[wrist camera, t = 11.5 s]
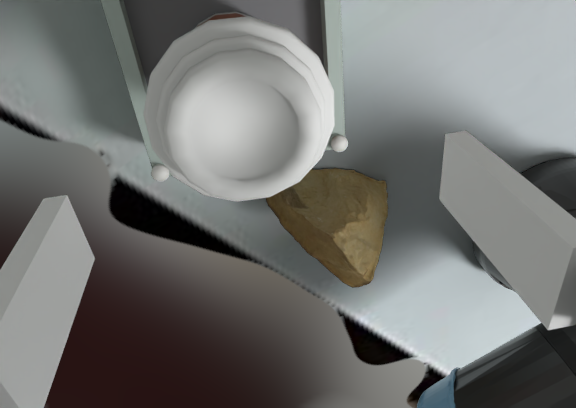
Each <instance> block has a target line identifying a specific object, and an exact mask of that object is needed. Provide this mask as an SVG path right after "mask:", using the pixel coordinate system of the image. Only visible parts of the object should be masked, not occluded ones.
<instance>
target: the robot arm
mask: <svg viewBox="0 0 576 408" xmlns="http://www.w3.org/2000/svg"><path fill="white" fill-rule="evenodd" d="M439 200H440V201H441V202H442V204H443V205H444V206H445V207H446V208H447V210H448V211H449V212H450V213H451V214H452V216H453V217H454V218H455V219H456V220H457V222H458V223H459V224H460V225H461V226H462V228H463V229H464V230H465V231H466V232H467V234H468V235H469V236H470V237H471V238H472V240H473V249H474V253H475V256H476V258H477V260H478V262H479V263H480V265H481V266H482V267H483V268H484V270H485V271H486V272H487V273H488V275H489V276H490V277H491V278H492V279H493V280H495V281H496V282H497V283H499V284H500V285H502V286H504V287H506V288H508V289H511V290H513V291H515V292H516V293H517V294H518V295H519V296H520V297H521V299H522V300H523V301H524V302H525V303H526V305H527V306H528V307H529V308H530V309H531V311H532V312H533V313H534V314H535V315H536V317H537V318H538V319H539V320H540V321H541V324H539V325H537V326H535V327H533V328H531V329H529V330H528V331H526V332H524V333H522V334H521V335H519V336H517V337H516V338H514V339H512V340H510V341H509V342H507V343H505V344H503V345H502V346H500V347H498V348H497V349H495V350H493V351H491V352H490V353H488V354H486V355H484V356H483V357H481V358H479V359H477V360H475V361H474V362H472V363H470V364H468V365H466V366H465V367H463V368H461V369H460V368H455V369H453V370H452V371H451V373H450V375H448V376H447V377H445V378H444V379H442V380H441V381H439V382H437V383H436V384H434V385H433V386H431V387H430V388H428V389H427V390H426V391H425V392H424V393H423V394H422V395H421V397H420V399H419V402H418V405H417V408H576V158H563V159H557V160H552V161H549V162H545V163H542V164H540V165H537V166H535V167H533V168H531V169H529V170H527V171H525V172H523V173H522V174H519V173H518V172H517V171H516V170H514V169H513V168H512V167H511V166H510V165H508V164H507V163H506V162H505V161H503V160H502V159H501V158H500V157H498V156H497V155H496V154H495V153H493V152H492V151H491V150H490V149H488V148H487V147H486V146H485V145H483V144H482V143H481V142H480V141H479V140H477V139H476V138H475V137H474V136H472V135H471V134H470V133H469V132H467V131H460V132H454V133H447V134H445V143H444V153H443V164H442V175H441V185H440V196H439ZM94 260H95V258H94V255H93V253H92V251H91V248H90V246H89V244H88V242H87V239H86V237H85V235H84V232H83V230H82V228H81V226H80V223H79V221H78V219H77V216H76V214H75V212H74V210H73V207H72V205H71V203H70V200H69V198H68V196H67V195H63V196H57V197H50V198H44V199H43V200H42V202H41V204H40V205H39V207H38V209H37V210H36V212H35V214H34V215H33V217H32V219H31V220H30V222H29V224H28V225H27V227H26V228H25V230H24V232H23V233H22V235H21V237H20V238H19V240H18V242H17V243H16V245H15V247H14V248H13V250H12V252H11V253H10V255H9V256H8V258H7V260H6V262H5V263H4V265H3V267H2V268H1V270H0V408H43V407H44V404H45V402H46V399H47V396H48V393H49V390H50V387H51V384H52V381H53V378H54V376H55V373H56V369H57V367H58V364H59V361H60V358H61V355H62V352H63V349H64V346H65V344H66V341H67V338H68V335H69V332H70V329H71V326H72V323H73V320H74V317H75V315H76V312H77V309H78V306H79V303H80V300H81V297H82V294H83V291H84V289H85V286H86V283H87V280H88V277H89V274H90V271H91V268H92V266H93V263H94Z"/></svg>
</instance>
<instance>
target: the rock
mask: <svg viewBox="0 0 576 408" xmlns="http://www.w3.org/2000/svg"><path fill="white" fill-rule="evenodd" d="M386 188H387V185H386V182H385V181H383V180H382V181H377V180H375V179H372V178H370V177H366V176H365V175H363V174H361V173H358V172H355V170H342V169H337V168H334V169H322V170H313V169H311V170H310V171H309V172H308V173H307V174H306V175H305V176H304V177H303V179H302V180H301V181H300V182H298V183H296V184H294V185H292V186H291V187H289V188H287V189H285V190H283V191H281V192H279V193H277V194H275V195H273V196H271V197H267V198H266V202H267V204H268V206H269V207H270V208H271V209H272V210H273V212H274V213H275V215H276V216H277V217H278V219H279V221H280V223H281V225H282V226H283V227H284V228H285V229H286V230H287V231H288V232H289V233H290V234H291V235H292V236H293V237H294V239H295V240H296V241H297V242H298V243H299V244H300V245H301V246H302V247H303V248H304V250H305V251H306V252H307V253H308V254H310V255H311V256H313V257H314V258H316V259H317V260H318V261H319V262H320V263H321V264H323V265H324V266H325V267H326V268H327V269H328V270H329V271H330V272H331V273H333V274H334V275H335V276H336V277H338V278H339V279H340V280H341V281H342V282H343V283H345V284H347V285H349V286H351V287H361V286H363V285H367V284H369V283H370V282H371V281H372V280H373V277H374V271H375V269H376V266H377V264H378V261H379V255H380V252H381V249H382V241H383V235H384V226H385V221H386V219H387V216H388V211H387V210H388V205H387V197H388V193H387V192H386Z"/></svg>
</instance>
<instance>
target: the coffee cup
mask: <svg viewBox="0 0 576 408" xmlns="http://www.w3.org/2000/svg"><path fill="white" fill-rule="evenodd" d="M143 115H144V119H145V123H146V126H147V130H148V134H149V138H150V142H151V146H152V149H153V151H154V152H155V153H156V154H157V156H158V157H159V158H160V160H161V161H162V162H163V163H164V165H165V166H166V167H167V169H168V170H169V171H170V173H171V174H172V175H173V176H174V178H176V179H178V180H179V181H181V182H183V183H184V184H186V185H188V186H189V187H191V188H193V189H194V190H196V191H198V192H199V193H201V194H203V195H205V196H210V197H215V198H220V199H226V200H231V201H236V202H239V201H246V200H253V199H260V198H267V197H271V196H273V195H275V194H277V193H279V192H281V191H283V190H285V189H287V188H289V187H291V186H292V185H294V184H296V183H298V182H300V181H301V180H302V179H303V177H304V176H305V175H306V174H307V173H308V172H309V171H310V170H311V169H312V168H313V167H314V166H315V165H316V163H317V162H318V161H319V160H320V159H321V158H322V156H323V153H324V151H325V148H326V146H327V143H328V141H329V138H330V136H331V133H332V131H333V128H334V126H335V121H334V90H333V87H332V85H331V83H330V81H329V79H328V76H327V74H326V72H325V70H324V67H323V65H322V63H321V61H320V59H319V57H318V56H317V54H316V53H314V52H313V51H312V50H311V49H310V48H309V47H308V46H307V45H305V44H304V43H303V42H302V41H301V40H300V39H299V38H298V37H297V36H295V35H294V34H293V33H292V32H291V31H290V30H289V29H287V28H284V27H281V26H278V25H275V24H272V23H269V22H266V21H263V20H260V19H257V18H255V17H252V16H249V15H245V14H242V13H239V12H236V11H233V12H224V13H215V14H214V15H212V16H210V17H208V18H207V19H205V20H203V21H202V22H200V23H198V25H197V26H196V27H195V29H193V30H191V31H190V32H188V33H186V34H184V35H183V36H181V37H179V38H178V39H176V40H174V41H173V42H172V44H171V45H170V47H169V48H168V49H167V51H166V52H165V54H164V55H163V57H162V58H161V59H160V61H159V62H158V64H157V65H156V67H155V68H154V69H153V71H152V72H151V75H150V78H149V84H148V90H147V96H146V101H145V107H144V113H143Z"/></svg>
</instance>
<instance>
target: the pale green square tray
mask: <svg viewBox="0 0 576 408" xmlns="http://www.w3.org/2000/svg"><path fill="white" fill-rule="evenodd" d="M101 3H102V7H103V10H104V13H105V16H106V20H107V23H108V26H109V29H110V33H111V36H112V39H113V42H114V46H115V49H116V52H117V55H118V59H119V62H120V65H121V68H122V72H123V75H124V78H125V81H126V85H127V88H128V91H129V94H130V98H131V101H132V104H133V107H134V111H135V114H136V117H137V120H138V124H139V127H140V130H141V133H142V137H143V140H144V143H145V146H146V150H147V153H148V156H149V159H150V163H151V166H152V172H151V175H152V177H153V179H155V180H156V181H165V180H166V179H167V178H168V177H169V176H173V175H172V174H171V173H170V171H169V170H168V169H167V167H166V166H165V165H164V163H163V162H162V161H161V160H160V158H159V157H158V156H157V154H156V153H155V152H154V151H153V149H152V146H151V142H150V138H149V134H148V130H147V126H146V123H145V119H144V115H143V113H144V107H145V101H146V96H147V90H148V84H149V78H150V75H151V72H152V71H153V69H154V68H155V67H156V65H157V64H158V62H159V61H160V59H161V58H162V57H163V55H164V54H165V52H166V51H167V49H168V48H169V47H170V45H171V44H172V42H173V41H174V40H176V39H178V38H179V37H181V36H183V35H184V34H186V33H188V32H190V31H191V30H193V29H195V27H196V26H197V25H198V23H200V22H202V21H203V20H205V19H207V18H208V17H210V16H212V15H214V14H215V13H224V12H233V11H236V12H239V13H242V14H245V15H249V16H252V17H255V18H257V19H260V20H263V21H266V22H269V23H272V24H275V25H278V26H281V27H284V28H287V29H289V30H290V31H291V32H292V33H293V34H294V35H295V36H297V37H298V38H299V39H300V40H301V41H302V42H303V43H304V44H305V45H307V46H308V47H309V48H310V49H311V50H312V51H313V52H314V53H316V54H317V56H318V57H319V59H320V61H321V63H322V65H323V67H324V70H325V72H326V74H327V76H328V79H329V81H330V83H331V85H332V87H333V90H334V121H335V126H334V128H333V131H332V133H331V136H330V138H329V141H328V143H327V146H326V148H325V151H326V150H332V149H333V150H334V151H336V152H342V151H344V150H345V149H346V148H347V146H348V141H347V139H346V138H345V118H344V89H343V60H342V31H341V2H340V0H101Z"/></svg>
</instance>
